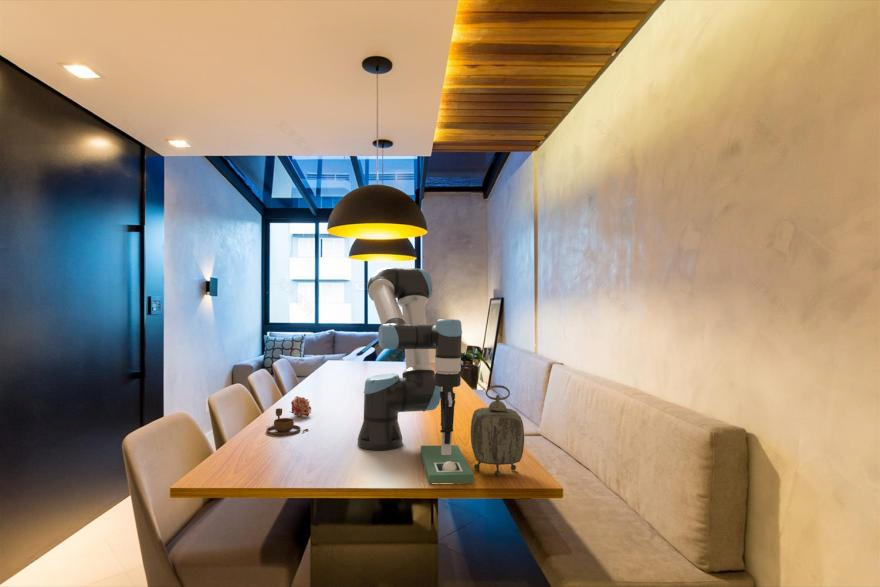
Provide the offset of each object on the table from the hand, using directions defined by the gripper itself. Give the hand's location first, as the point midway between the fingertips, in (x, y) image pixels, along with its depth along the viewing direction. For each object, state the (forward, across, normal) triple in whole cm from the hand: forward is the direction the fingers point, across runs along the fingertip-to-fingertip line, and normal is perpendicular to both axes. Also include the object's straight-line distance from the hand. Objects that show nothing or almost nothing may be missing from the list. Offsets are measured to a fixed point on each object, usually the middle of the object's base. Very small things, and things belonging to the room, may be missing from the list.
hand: (446, 454), depth 132 cm
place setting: (+5, +47, +54) cm, 72 cm away
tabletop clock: (+5, -4, -14) cm, 15 cm away
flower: (+4, +66, +52) cm, 84 cm away
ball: (+2, -6, 0) cm, 6 cm away
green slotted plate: (+5, +2, 0) cm, 5 cm away
